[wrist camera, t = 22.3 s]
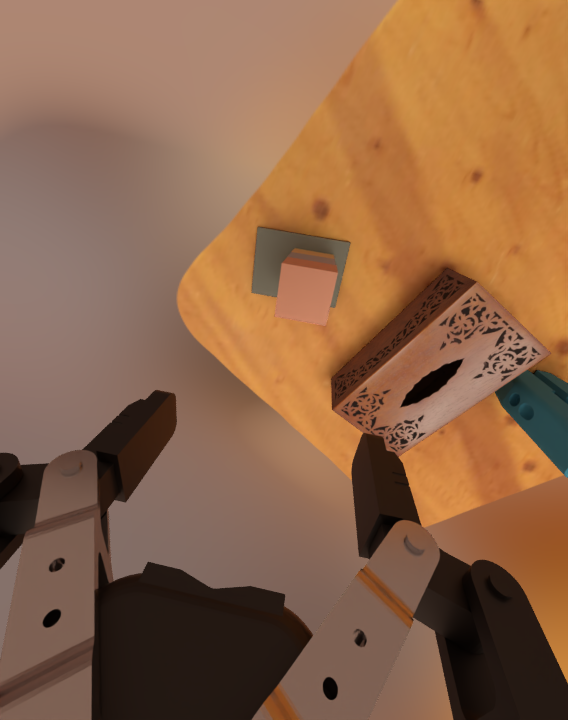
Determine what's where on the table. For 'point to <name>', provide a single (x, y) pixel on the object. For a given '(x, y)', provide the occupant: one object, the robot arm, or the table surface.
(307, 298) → the terracotta block
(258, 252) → the felt mat
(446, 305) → the tissue box cover
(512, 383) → the block
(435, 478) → the table surface
